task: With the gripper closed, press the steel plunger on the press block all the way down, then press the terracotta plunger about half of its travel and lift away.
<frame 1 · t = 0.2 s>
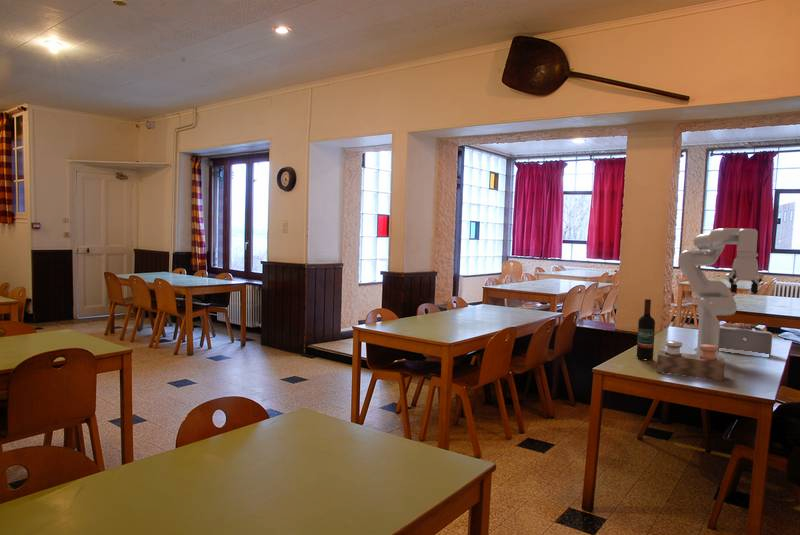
hand: (743, 292, 246), 37 cm above the table, tool pointing down, fingers open, 9 cm apart
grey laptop: (742, 352, 289), on the table
wine bottle: (644, 359, 268), on the table
press block: (689, 373, 241), on the table
steel plunger: (673, 351, 244), point 9 cm above the table, slide at 0.0 cm
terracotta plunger: (708, 355, 237), point 9 cm above the table, slide at 0.0 cm
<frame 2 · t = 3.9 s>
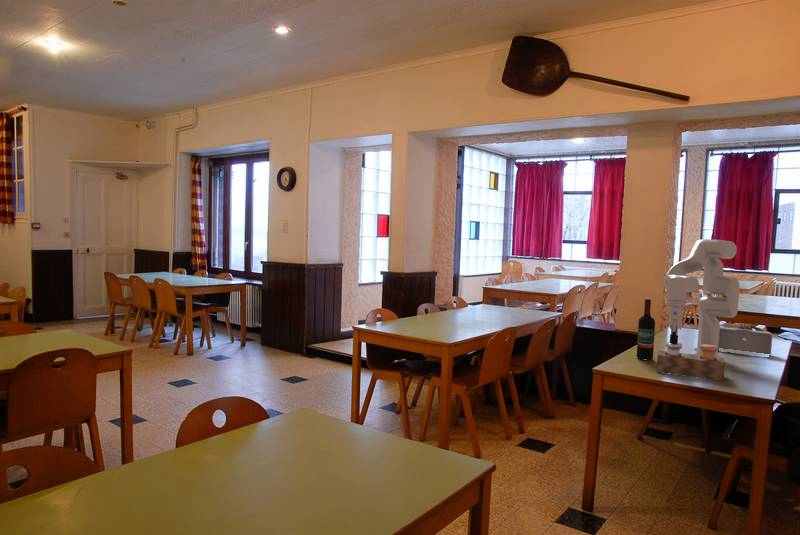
hand: (673, 343, 243), 13 cm above the table, tool pointing down, fingers closed
steel plunger: (673, 352, 244), point 9 cm above the table, slide at 0.6 cm, touching gripper
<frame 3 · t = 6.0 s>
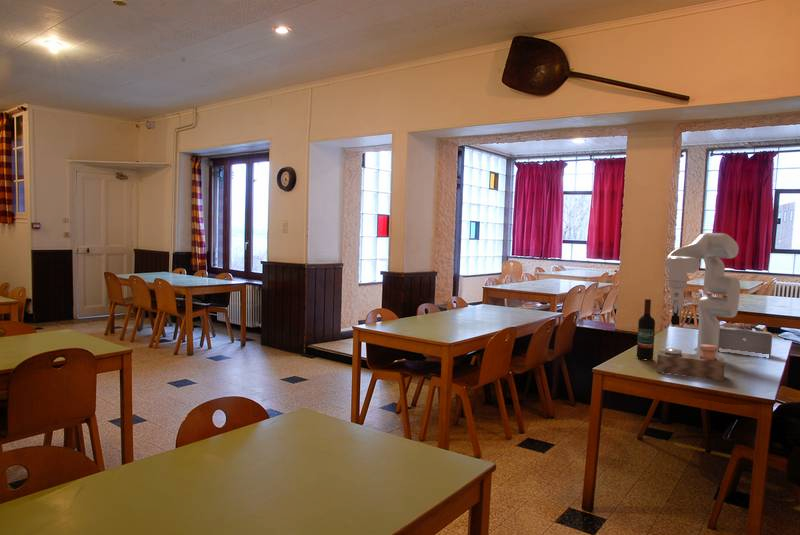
hand: (675, 324, 243), 22 cm above the table, tool pointing down, fingers closed
steel plunger: (672, 359, 244), point 6 cm above the table, slide at 3.5 cm
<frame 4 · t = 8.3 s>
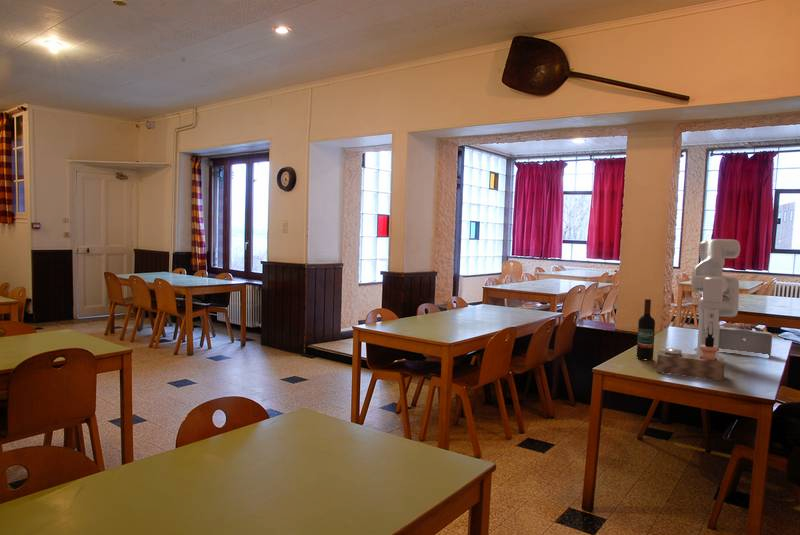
hand: (709, 346, 236), 13 cm above the table, tool pointing down, fingers closed
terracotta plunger: (708, 355, 237), point 9 cm above the table, slide at 0.2 cm, touching gripper
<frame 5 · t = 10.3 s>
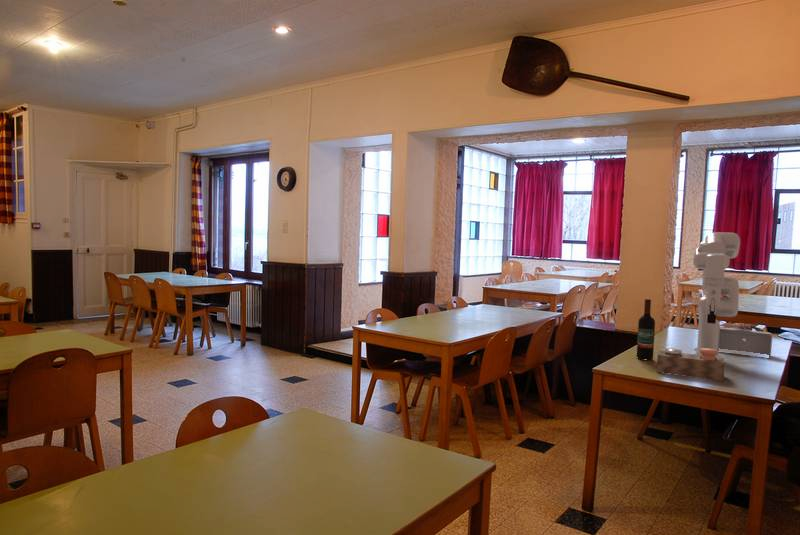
hand: (711, 322, 238), 24 cm above the table, tool pointing down, fingers closed
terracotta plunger: (708, 359, 237), point 8 cm above the table, slide at 1.6 cm
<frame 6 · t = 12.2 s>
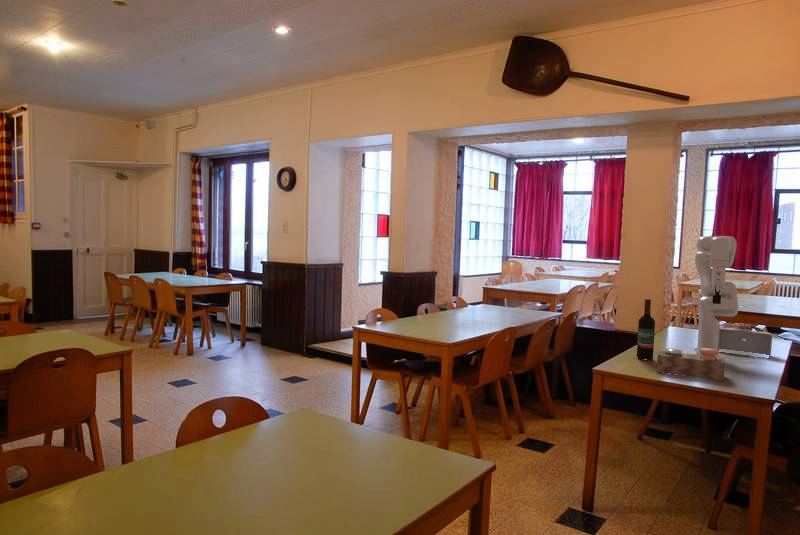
hand: (716, 303, 248), 31 cm above the table, tool pointing down, fingers closed
at the end: steel plunger slide at 3.5 cm; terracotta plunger slide at 1.6 cm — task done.
